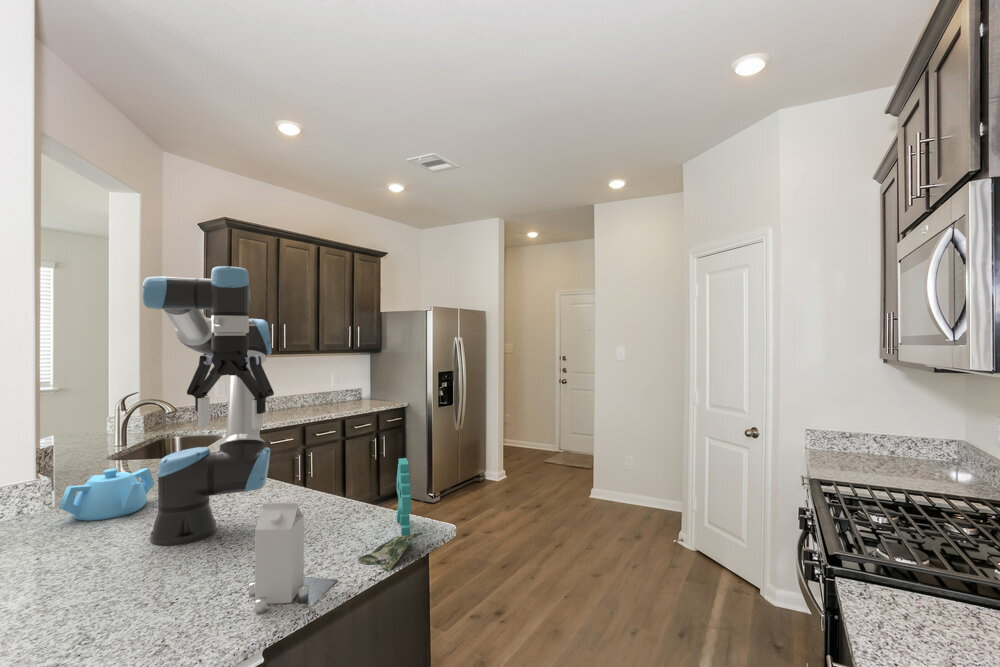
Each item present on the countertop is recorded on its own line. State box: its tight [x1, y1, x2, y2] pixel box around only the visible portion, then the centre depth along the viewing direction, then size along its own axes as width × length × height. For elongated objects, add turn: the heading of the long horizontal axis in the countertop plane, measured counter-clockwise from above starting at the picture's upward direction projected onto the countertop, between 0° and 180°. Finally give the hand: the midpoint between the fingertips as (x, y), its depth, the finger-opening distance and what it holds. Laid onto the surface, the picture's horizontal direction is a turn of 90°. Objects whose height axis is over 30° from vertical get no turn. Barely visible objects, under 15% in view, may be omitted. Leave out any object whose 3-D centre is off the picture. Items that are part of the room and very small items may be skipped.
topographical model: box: [357, 532, 424, 573], centre depth 119 cm, size 16×15×2 cm
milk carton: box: [254, 502, 305, 605], centre depth 99 cm, size 7×7×19 cm
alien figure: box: [396, 457, 412, 547], centre depth 134 cm, size 20×2×20 cm, turn 16°
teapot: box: [58, 467, 156, 521], centre depth 148 cm, size 19×19×14 cm
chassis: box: [247, 576, 339, 615], centre depth 98 cm, size 17×17×4 cm
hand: (230, 426), depth 110 cm, fingers open, 13 cm apart
